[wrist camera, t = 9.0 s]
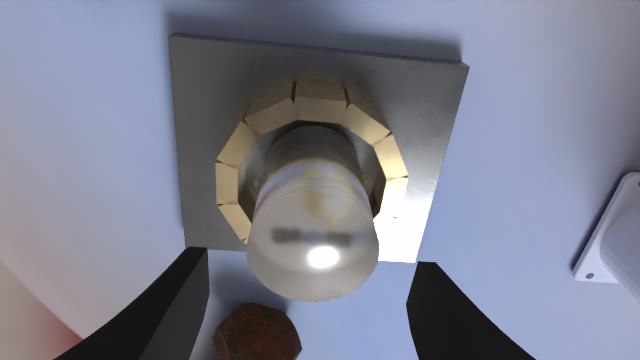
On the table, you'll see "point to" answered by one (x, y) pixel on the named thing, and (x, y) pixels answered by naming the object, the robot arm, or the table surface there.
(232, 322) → the bolt
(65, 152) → the table surface
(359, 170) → the piston
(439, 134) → the ring plate
